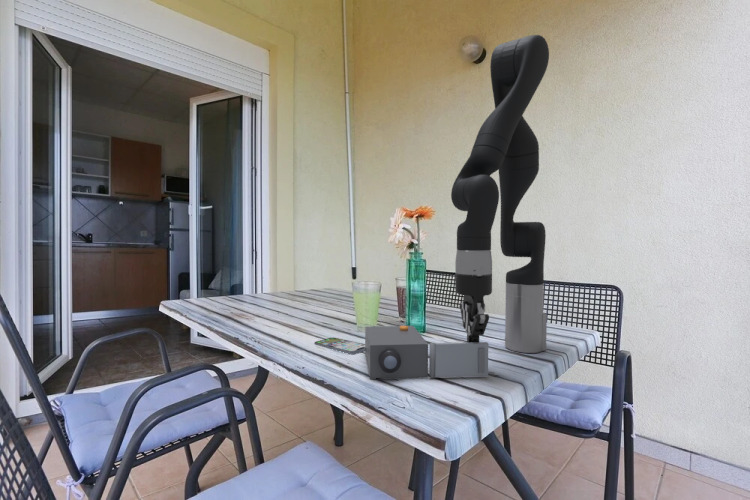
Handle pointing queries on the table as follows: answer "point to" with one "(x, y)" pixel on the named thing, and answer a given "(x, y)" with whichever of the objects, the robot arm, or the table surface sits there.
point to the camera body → (395, 352)
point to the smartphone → (341, 345)
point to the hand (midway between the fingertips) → (473, 352)
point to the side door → (458, 359)
